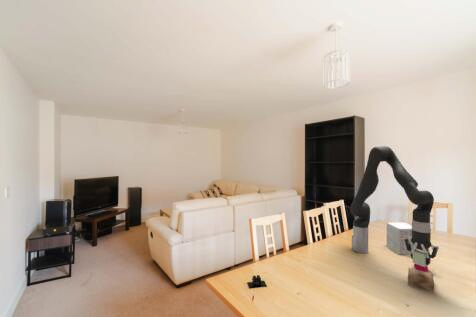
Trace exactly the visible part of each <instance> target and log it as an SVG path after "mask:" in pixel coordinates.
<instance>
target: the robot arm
mask: <svg viewBox="0 0 476 317" xmlns="http://www.w3.org/2000/svg"><path fill="white" fill-rule="evenodd" d="M367 158H368V159H367V162H366V166H365V170H364V173H363V175H362V178H361V180H360V184H359V187H358V190H357V191H356V192H357V193H356V194H355V197H354V199H353V200H352V203H351V204H350V213H351V215H352V216H354V217H356V219H354V220H353V221H352V225H353V226H352V231H353V232H352V235H351V250H353V251H354V252H356V253H359V254H368V253H369V226H370V223H371V222H370V221H371V207H370V205H369V203H367V202H366V200H367V199H369V197H370V196H372V195H373V193H375V192H376V190H377V187H378V185H379V175H378V168H379V165H380V163H381V162H385V163H386V164H387V165H388V166H390V168H391V170H392V174H393V177H394V179H395V180H396V182H397V183H398V184H399V186H400V187H402V189H403V191H404V194H405V195H406V197H407V198H408V200H409V201H410V202H411V203H412V204H413V205H416V208H414V209H413V210H412V220H411V226H412V238H411V239H408V238H407V239H405V244H406V248H407V250H408V251H410V252H411V255H410V259H412V261H413V251H415V250H417V249H421V250H423V251H424V253H425V254H426V265H428V266H429V265H430V264H431V259H434V258H436V256H437V253H438V252H439V246H436V245H433V244H432V242H431V240H432V239H431V238H432V237H431V235H432V234H431V233H432V232H431V231H432V227H431V212H432V210H433V206H434V201H435V199H434V195H433V193H432V192H431V191H428V190H419V189H418V188H417V187H418V186H419V184H418V181H417V180H416V179H415V177H413V176H412V175H411V174H410V172H409V171H407V169H406V168H405V167H404V166H403V163H401V161H400V160H399V158H398V156H397V154H396V153H395V151H393V149H392V148H391V147H389V146H386V145H385V146H384V145H383V146H381V145H380V146H374V147H373V148H371V149H370V151H369V154H368V157H367ZM357 217H358V218H357ZM411 242H412V243H413V245H414V246H413V248H412V249H411V245H410V243H411ZM429 248H431V250H432V251H431V253H430V249H429Z"/></svg>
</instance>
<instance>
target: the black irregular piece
mask: <svg viewBox="0 0 476 317" xmlns="http://www.w3.org/2000/svg"><path fill="white" fill-rule="evenodd" d="M246 285H247V287H248V289H257V288H266V287H268V285H267V283H266V281H265V280H262V278H261V276H260V275H259V274H258V275H252V279H251V281H248V282H246Z"/></svg>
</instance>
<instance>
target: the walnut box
mask: <svg viewBox="0 0 476 317" xmlns="http://www.w3.org/2000/svg"><path fill="white" fill-rule="evenodd" d="M407 271H408V272H407V285H408V286H411V287H414V288H418V289H420V290H421V289H422V290H424V291H428V292H431V291H432V293H434V292H435V280H434V273H432V272H427V271H420V270H417V269H415V268H411V267H408V269H407Z"/></svg>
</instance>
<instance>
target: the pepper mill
mask: <svg viewBox="0 0 476 317" xmlns="http://www.w3.org/2000/svg"><path fill="white" fill-rule="evenodd" d="M418 250H421V249H418ZM422 251H423V250H422ZM428 266H429V265H427V266H425V267H423V266H420V265H418V264H415V263H413V269H416V270H420V271H424V272H427V271H429V267H428Z"/></svg>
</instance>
